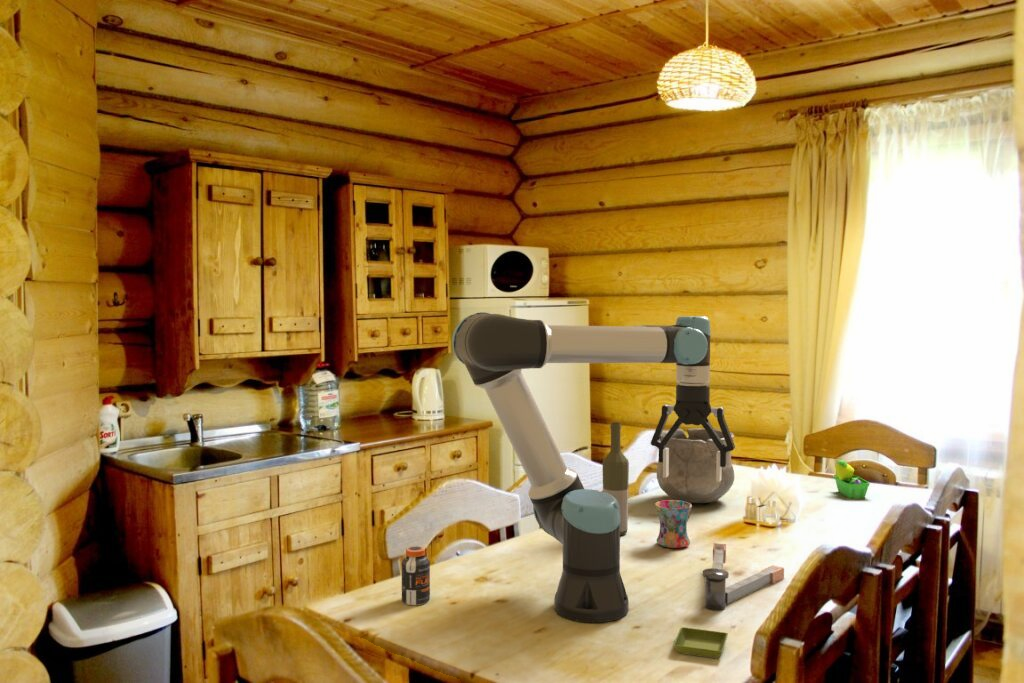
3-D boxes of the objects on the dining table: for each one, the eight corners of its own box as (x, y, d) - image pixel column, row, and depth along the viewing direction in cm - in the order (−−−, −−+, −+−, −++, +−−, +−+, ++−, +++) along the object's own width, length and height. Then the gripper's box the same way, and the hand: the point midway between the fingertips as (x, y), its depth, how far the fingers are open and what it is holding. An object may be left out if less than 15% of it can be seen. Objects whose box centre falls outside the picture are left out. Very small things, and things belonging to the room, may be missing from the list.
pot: (677, 489, 278) (677, 424, 276) (746, 498, 264) (746, 431, 263) (642, 504, 257) (642, 435, 256) (715, 515, 244) (715, 442, 242)
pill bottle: (418, 608, 173) (417, 554, 172) (395, 602, 176) (395, 549, 175) (435, 599, 178) (435, 546, 177) (413, 594, 181) (413, 542, 180)
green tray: (672, 656, 150) (672, 644, 149) (680, 637, 158) (680, 626, 157) (722, 663, 146) (722, 651, 146) (728, 643, 155) (728, 632, 154)
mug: (677, 552, 209) (677, 510, 208) (647, 545, 215) (647, 504, 215) (704, 542, 217) (705, 502, 216) (675, 535, 224) (675, 496, 223)
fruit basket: (870, 499, 262) (871, 463, 261) (842, 499, 262) (842, 463, 262) (856, 490, 273) (856, 456, 273) (829, 491, 273) (829, 456, 273)
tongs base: (719, 613, 168) (719, 578, 168) (697, 607, 172) (697, 572, 172) (788, 579, 188) (789, 548, 188) (767, 574, 192) (767, 543, 192)
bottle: (621, 538, 221) (621, 425, 219) (597, 534, 225) (597, 423, 223) (633, 532, 227) (633, 422, 225) (610, 528, 231) (610, 420, 229)
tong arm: (722, 589, 174) (722, 575, 174) (709, 588, 175) (709, 574, 175) (725, 556, 196) (726, 544, 196) (713, 555, 197) (713, 543, 197)
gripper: (637, 383, 192) (637, 477, 193) (744, 387, 183) (743, 486, 184) (645, 380, 199) (644, 471, 200) (748, 384, 190) (747, 479, 191)
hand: (691, 478), depth 192 cm, fingers open, 11 cm apart
